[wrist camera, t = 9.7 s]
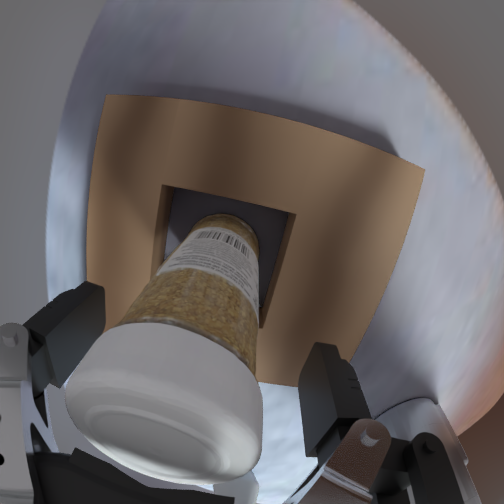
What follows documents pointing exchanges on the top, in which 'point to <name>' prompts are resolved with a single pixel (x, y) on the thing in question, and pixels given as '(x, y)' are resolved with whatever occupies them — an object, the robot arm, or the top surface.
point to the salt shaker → (239, 489)
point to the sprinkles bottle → (181, 365)
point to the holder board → (261, 193)
